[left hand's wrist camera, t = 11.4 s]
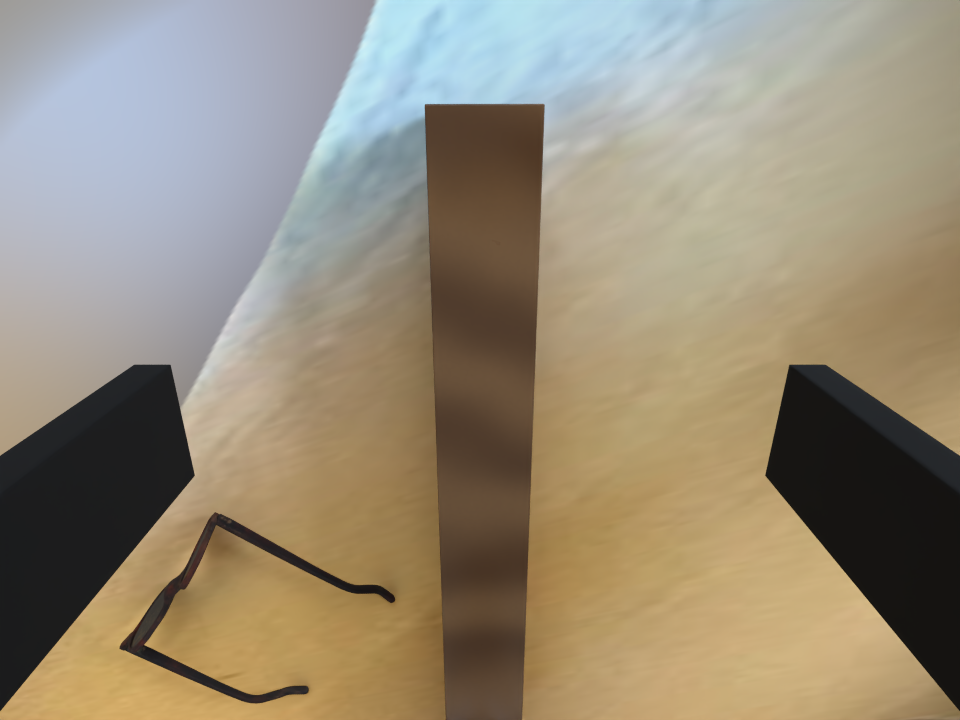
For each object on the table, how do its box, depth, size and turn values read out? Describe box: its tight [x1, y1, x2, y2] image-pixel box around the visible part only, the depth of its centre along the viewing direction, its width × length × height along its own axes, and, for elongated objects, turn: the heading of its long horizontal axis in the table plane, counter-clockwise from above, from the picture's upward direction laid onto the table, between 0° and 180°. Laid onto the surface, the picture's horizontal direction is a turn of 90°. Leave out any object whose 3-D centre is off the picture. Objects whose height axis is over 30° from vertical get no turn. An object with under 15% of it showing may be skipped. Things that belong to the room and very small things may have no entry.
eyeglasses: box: [120, 512, 395, 703], centre depth 42 cm, size 15×15×5 cm
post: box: [425, 104, 545, 720], centre depth 42 cm, size 78×5×8 cm, turn 0°
